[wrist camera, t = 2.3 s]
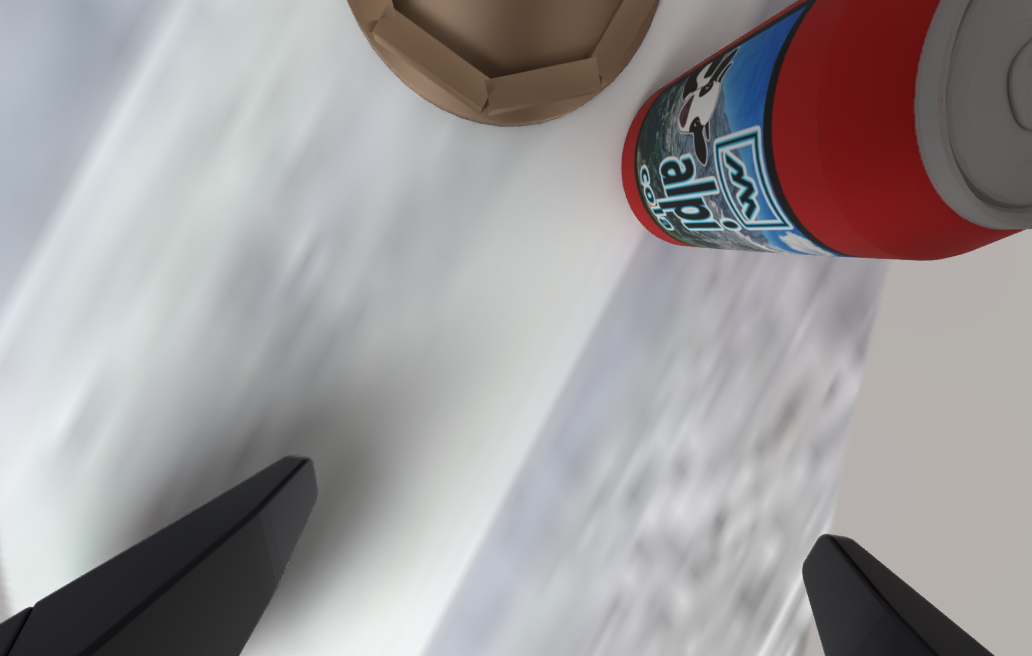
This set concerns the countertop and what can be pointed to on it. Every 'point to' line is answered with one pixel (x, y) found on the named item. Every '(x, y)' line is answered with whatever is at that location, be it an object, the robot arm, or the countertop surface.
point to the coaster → (505, 52)
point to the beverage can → (846, 134)
